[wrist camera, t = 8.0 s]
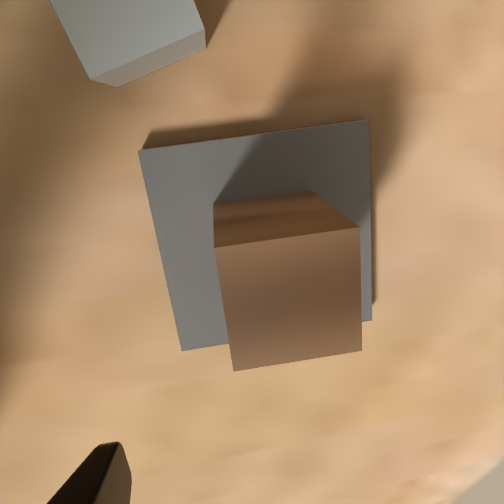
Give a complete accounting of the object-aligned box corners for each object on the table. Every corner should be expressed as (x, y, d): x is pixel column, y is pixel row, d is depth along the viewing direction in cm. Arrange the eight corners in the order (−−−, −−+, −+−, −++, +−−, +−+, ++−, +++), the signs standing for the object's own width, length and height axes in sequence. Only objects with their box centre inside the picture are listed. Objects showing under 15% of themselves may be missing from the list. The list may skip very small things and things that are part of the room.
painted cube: (206, 49, 16) (204, 28, 12) (117, 87, 16) (89, 79, 12) (162, -62, 14) (145, -125, 11) (66, -19, 14) (15, -65, 11)
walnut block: (316, 280, 19) (361, 350, 13) (226, 293, 19) (233, 371, 13) (311, 190, 17) (359, 227, 12) (212, 204, 17) (213, 247, 11)
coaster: (366, 312, 21) (371, 320, 20) (182, 342, 20) (181, 351, 19) (362, 119, 17) (369, 119, 16) (141, 149, 17) (137, 150, 16)
